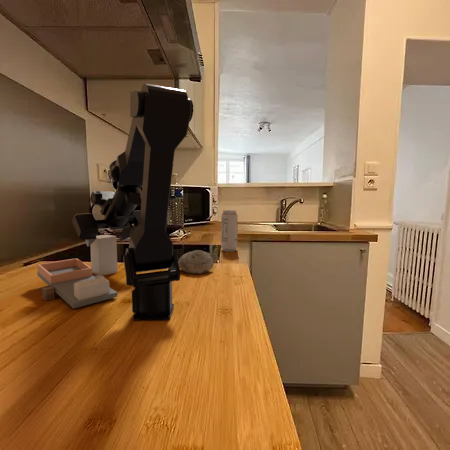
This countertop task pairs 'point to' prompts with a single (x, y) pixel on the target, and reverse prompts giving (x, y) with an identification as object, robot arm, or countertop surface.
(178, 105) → the robot arm
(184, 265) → the fossilized seashell
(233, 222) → the energy drink can
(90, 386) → the countertop surface
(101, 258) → the grey block
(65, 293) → the board
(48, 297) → the pivot stand
